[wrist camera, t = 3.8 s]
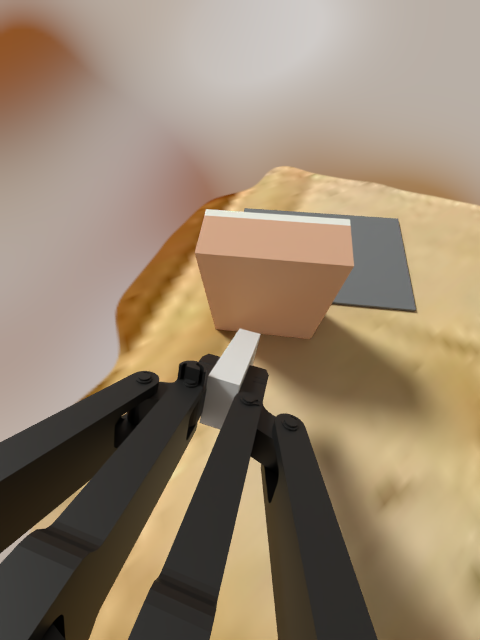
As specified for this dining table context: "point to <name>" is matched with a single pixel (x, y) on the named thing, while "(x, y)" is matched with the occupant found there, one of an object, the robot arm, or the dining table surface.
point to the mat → (371, 263)
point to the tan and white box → (272, 270)
